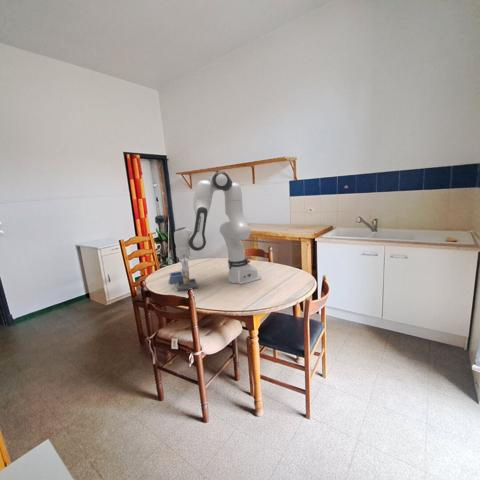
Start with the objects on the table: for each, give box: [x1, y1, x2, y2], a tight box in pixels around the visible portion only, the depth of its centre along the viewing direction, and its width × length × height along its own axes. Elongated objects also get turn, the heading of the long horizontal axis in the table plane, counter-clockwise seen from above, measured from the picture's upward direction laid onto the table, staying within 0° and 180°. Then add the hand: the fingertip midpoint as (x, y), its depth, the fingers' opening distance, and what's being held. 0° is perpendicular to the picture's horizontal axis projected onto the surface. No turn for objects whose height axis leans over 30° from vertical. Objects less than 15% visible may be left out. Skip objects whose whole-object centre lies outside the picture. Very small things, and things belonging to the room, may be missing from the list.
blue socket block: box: [169, 270, 183, 285], centre depth 181 cm, size 9×9×5 cm
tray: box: [176, 278, 199, 292], centre depth 169 cm, size 12×12×2 cm
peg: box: [181, 268, 191, 285], centre depth 168 cm, size 4×4×10 cm
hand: (185, 274), depth 168 cm, fingers closed on peg, 4 cm apart
